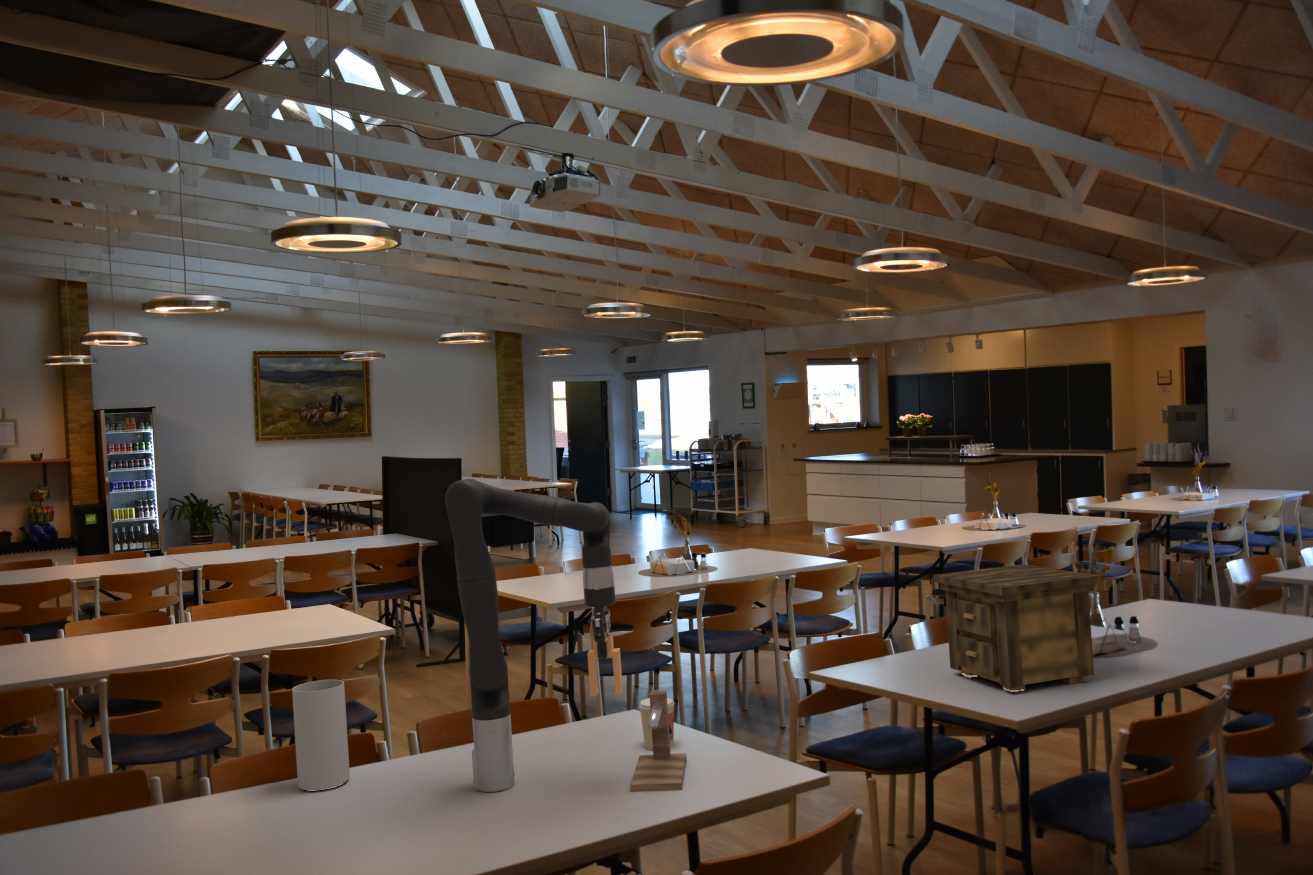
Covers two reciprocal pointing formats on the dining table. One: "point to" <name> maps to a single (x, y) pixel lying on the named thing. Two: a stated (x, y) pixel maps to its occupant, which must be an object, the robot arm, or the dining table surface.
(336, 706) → the cylinder vase
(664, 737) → the hook rack
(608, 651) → the forked wooden block
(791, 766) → the dining table surface
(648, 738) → the coffee cup
